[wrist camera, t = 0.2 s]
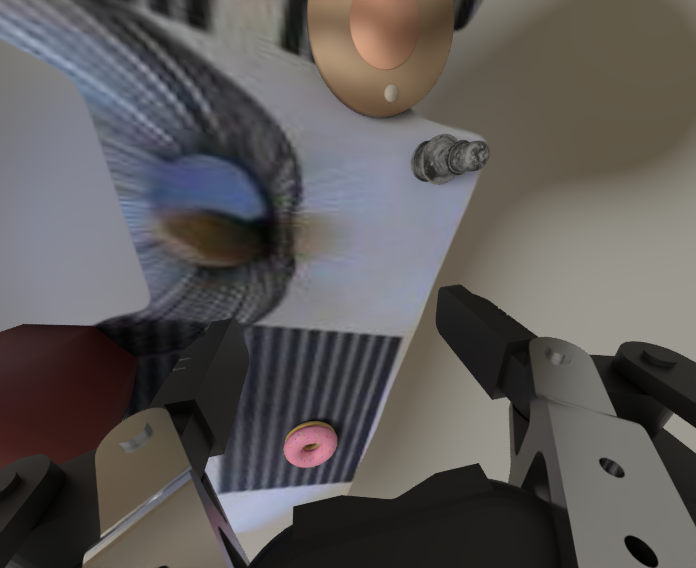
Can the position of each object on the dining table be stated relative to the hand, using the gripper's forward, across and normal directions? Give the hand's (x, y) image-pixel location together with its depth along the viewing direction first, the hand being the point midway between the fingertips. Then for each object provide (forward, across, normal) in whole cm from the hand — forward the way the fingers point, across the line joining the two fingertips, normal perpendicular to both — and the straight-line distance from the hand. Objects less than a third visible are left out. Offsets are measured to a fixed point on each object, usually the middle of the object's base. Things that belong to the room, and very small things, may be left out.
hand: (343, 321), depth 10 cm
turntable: (+28, -10, -18) cm, 34 cm away
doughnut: (+26, +8, +46) cm, 53 cm away
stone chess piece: (+29, -17, -4) cm, 34 cm away
